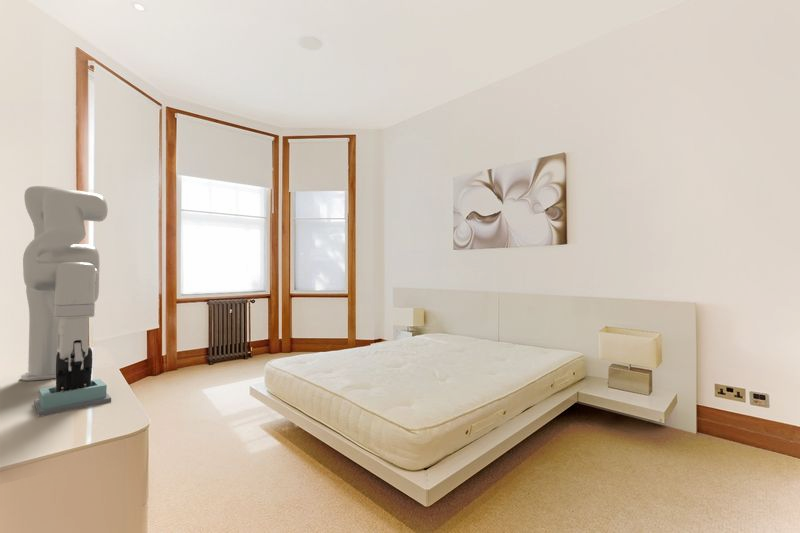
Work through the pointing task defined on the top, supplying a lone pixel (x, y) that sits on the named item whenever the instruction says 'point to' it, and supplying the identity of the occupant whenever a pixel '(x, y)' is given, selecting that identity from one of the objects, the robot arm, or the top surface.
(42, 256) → the robot arm
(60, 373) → the battery charger
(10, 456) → the top surface
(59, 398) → the dock
